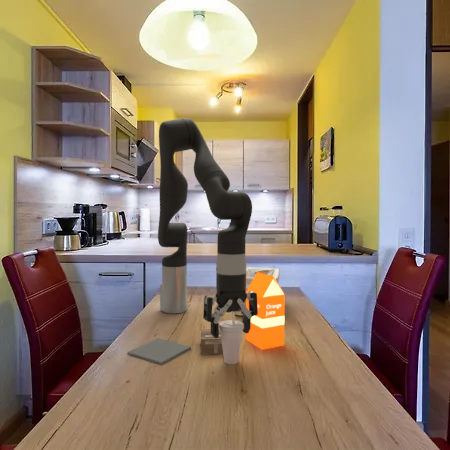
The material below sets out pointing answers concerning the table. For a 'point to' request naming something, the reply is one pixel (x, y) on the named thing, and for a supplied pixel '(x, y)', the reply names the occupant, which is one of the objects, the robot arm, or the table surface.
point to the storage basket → (251, 274)
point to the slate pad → (159, 351)
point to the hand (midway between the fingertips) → (231, 334)
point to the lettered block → (210, 342)
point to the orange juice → (267, 313)
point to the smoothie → (231, 339)
